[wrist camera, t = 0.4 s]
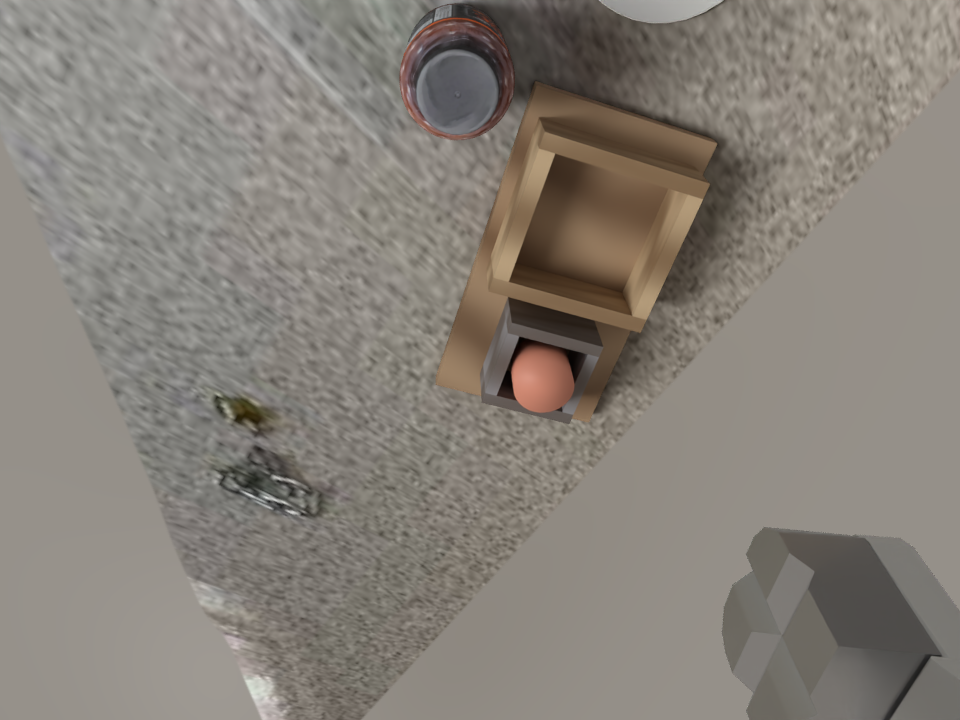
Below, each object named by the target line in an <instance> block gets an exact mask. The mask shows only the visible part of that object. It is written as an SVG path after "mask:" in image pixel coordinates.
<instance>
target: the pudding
mask: <svg viewBox="0 0 960 720" xmlns="http://www.w3.org/2000/svg"><path fill="white" fill-rule="evenodd" d="M599 1H600V2H601V3H602V4H603V5H605V6H606V7H608V8H609V9H611V10H613V11H614V12H616V13H617V14H620V15H622V16H625V17H627V18H629V19H632V20H636V21H641V22H646V23H671V22H677V21H682V20H686V19H689V18H692V17H694V16H697V15H699V14H702V13H704V12H706V11H707V10H709V9H711V8H713V7H714V6H716V5H718V4H719V3H721V2H722V1H723V0H599Z"/></svg>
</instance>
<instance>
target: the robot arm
mask: <svg viewBox="0 0 960 720" xmlns="http://www.w3.org/2000/svg"><path fill="white" fill-rule="evenodd" d="M746 556H747V558H748V560H749V562H750V564H751V567H752V569H753V571H752V572H750V573H749V574H747V575H746V576H744V577H743V578H742V579H740V580H739V581H737V582H736V583H734V584H733V585H732V588H731V590H730V593H729V596H728V598H727V601H726V603H725V606H724V613H723V627H722V635H723V641H724V648H725V653H726V656H727V659H728V662H729V665H730V668H731V670H732V673H733V674H734V675H735V676H736V677H737V678H738V679H739V680H740V681H741V682H742V683H744V684H745V685H746V686H747V687H748V688H749V689H750V690H751V691H752V692H753V695H752V697H751V700H750V702H749V705H748V707H747V710H746V712H747V714H748V717H749V720H960V611H959V609H958V608H957V607H956V605H955V604H954V603H953V601H952V600H951V598H950V597H949V596H948V594H947V593H946V591H945V590H944V588H943V587H942V586H941V584H940V583H939V582H938V580H937V579H936V577H935V576H934V575H933V573H932V572H931V570H930V569H929V568H928V566H927V565H926V564H925V562H924V561H923V559H922V558H921V557H920V555H919V554H918V552H917V551H916V550H915V548H914V547H913V546H911V545H910V544H908V543H907V542H905V541H904V540H902V539H900V538H892V537H879V536H866V535H853V536H850V535H842V534H832V533H820V532H809V531H800V530H789V529H779V528H768V527H764V528H763V529H762V530H761V531H760V532H759V533H758V534H756V535H755V537H754V538H753V540H752V542H751V545H750V547H749V549H748V551H747V553H746Z"/></svg>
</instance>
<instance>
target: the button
mask: <svg viewBox="0 0 960 720" xmlns="http://www.w3.org/2000/svg"><path fill="white" fill-rule="evenodd" d="M510 367H511V375H512V382H513V390H514V395H515V397H516V399H517V401H518V402H519V403H520V404H521V405H522V406H523V407H524V408H526V409H528V410H530V411H533V412H539V413H545V412H551V411H554V410H557V409H559V408H561V407H562V406H564V405H565V404H566V403H567V402H568V401H569V399H570V398H571V396H572V394H573V392H574V379H573V375H572V371H571V367H570V364H569V360H568V356H567V352H566V350H565V348H562V347H558V346H554V345H551V344H547V343H543V342H539V341H535V340H532V339H526V340H524V341H523V342H521V343H520V344H519V345H518V346H517V347H516V348H515V349H514V352H513V354H512V357H511V360H510Z"/></svg>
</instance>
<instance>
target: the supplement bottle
mask: <svg viewBox="0 0 960 720" xmlns="http://www.w3.org/2000/svg"><path fill="white" fill-rule="evenodd" d="M514 85H515V73H514V67H513V63H512V59H511V55H510V53H509V50H508V48H507V46H506V43H505V40H504V38H503V36H502V33H501V31H500V29H499V27H498V26H497V25H496V24H495V22H494V21H493V20H492V19H491V18H490V17H489V16H487V15H486V14H485V13H483V12H482V11H480V10H478V9H476V8H475V7H472V6H469V5H465V4H447V5H444V6H440V7H438V8H435V9H434V10H432V11H430V12H429V13H427V14H426V15H425V16H424V17H423V18H422V19H421V20H420V21H419V23H418V24H417V25H416V26H415V28H414V30H413V32H412V34H411V36H410V38H409V41H408V44H407V47H406V50H405V53H404V56H403V60H402V63H401V68H400V90H401V95H402V98H403V101H404V104H405V106H406V108H407V110H408V112H409V113H410V115H411V116H412V118H413V119H414V120H415V121H416V122H417V123H418V124H419V125H420V126H421V127H422V128H424V129H425V130H426V131H428V132H429V133H431V134H433V135H435V136H438V137H441V138H444V139H450V140H465V139H471V138H475V137H477V136H480V135H482V134H484V133H486V132H487V131H489V130H490V129H491V128H493V127H494V126H495V125H496V124H497V123H498V122H499V121H500V120H501V119H502V117H503V116H504V114H505V113H506V111H507V109H508V107H509V105H510V103H511V100H512V97H513V93H514Z"/></svg>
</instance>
